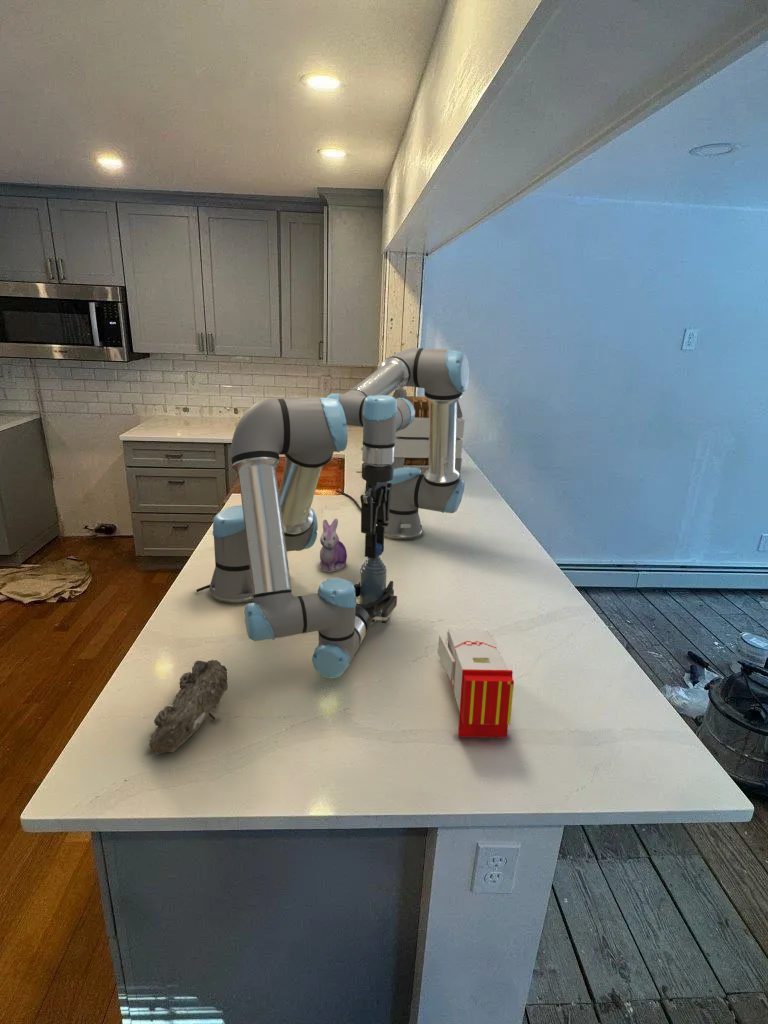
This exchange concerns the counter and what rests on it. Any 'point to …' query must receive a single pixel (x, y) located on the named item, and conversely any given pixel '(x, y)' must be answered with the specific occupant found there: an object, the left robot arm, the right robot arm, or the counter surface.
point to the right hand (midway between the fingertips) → (374, 553)
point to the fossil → (189, 705)
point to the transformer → (421, 435)
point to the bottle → (372, 580)
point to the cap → (378, 549)
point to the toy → (478, 682)
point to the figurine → (331, 548)
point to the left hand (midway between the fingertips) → (377, 583)
